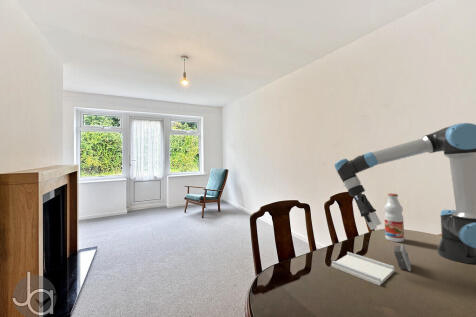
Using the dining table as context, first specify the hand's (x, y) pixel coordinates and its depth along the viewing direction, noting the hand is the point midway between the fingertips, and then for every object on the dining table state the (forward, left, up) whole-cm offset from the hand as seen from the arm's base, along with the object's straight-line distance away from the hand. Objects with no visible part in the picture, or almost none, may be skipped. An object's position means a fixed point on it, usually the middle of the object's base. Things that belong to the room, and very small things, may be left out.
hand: (376, 226), depth 104 cm
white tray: (+2, +14, -17) cm, 22 cm away
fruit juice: (+5, -39, -17) cm, 42 cm away
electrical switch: (-9, -3, -17) cm, 19 cm away
